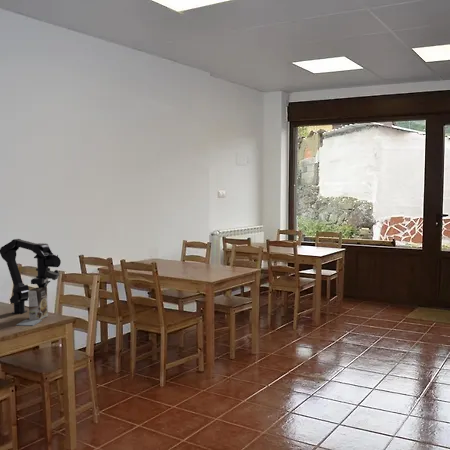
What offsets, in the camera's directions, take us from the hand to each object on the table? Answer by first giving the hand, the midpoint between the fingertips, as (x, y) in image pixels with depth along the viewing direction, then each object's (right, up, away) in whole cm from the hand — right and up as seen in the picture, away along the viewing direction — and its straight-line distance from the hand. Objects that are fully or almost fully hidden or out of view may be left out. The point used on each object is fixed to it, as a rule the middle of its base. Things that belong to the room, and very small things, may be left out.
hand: (43, 294), depth 301 cm
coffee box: (-1, -12, -6) cm, 14 cm away
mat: (-2, -13, -17) cm, 22 cm away
